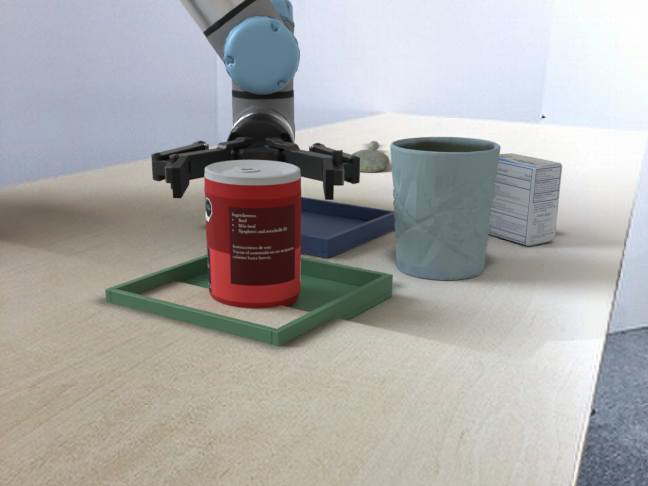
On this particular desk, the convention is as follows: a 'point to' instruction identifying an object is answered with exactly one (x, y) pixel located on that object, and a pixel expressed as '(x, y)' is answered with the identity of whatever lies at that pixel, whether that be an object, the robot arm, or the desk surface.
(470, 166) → the embossed blue cup
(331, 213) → the blue tray
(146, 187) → the desk surface
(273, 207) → the canned food
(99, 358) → the desk surface
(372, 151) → the knobbed grey dome
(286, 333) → the green tray
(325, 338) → the desk surface
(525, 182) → the medicine box
